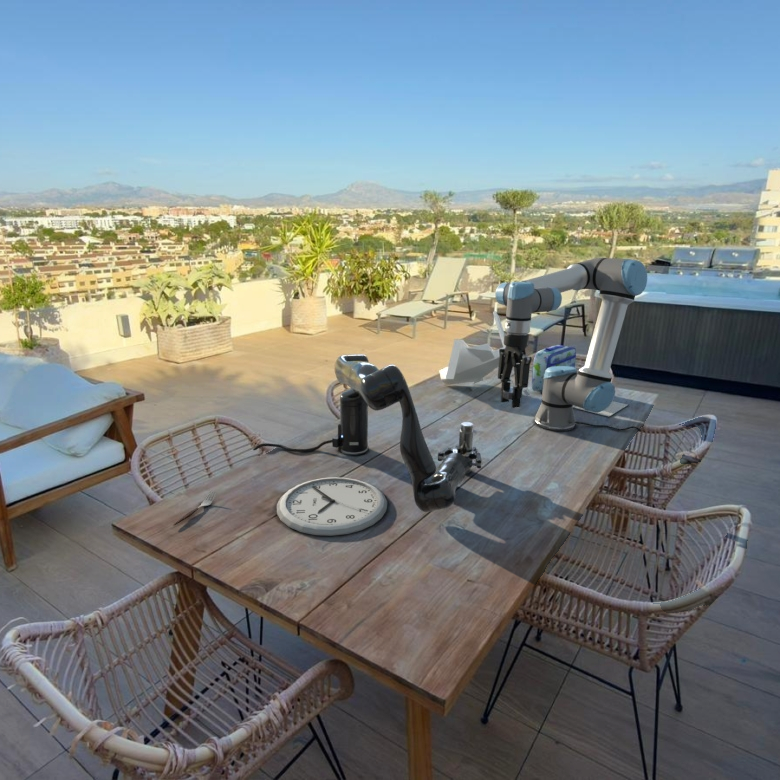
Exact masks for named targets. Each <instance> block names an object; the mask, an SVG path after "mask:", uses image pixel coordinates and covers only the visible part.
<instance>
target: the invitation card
mask: <svg viewBox="0 0 780 780" xmlns="http://www.w3.org/2000/svg"><path fill="white" fill-rule="evenodd" d="M628 406H629V404H627V403H623V402H618V401H614V400H612V402H611V404H610V405H609V406H608V407H607V408H606V409H605V410H603V411H601V412H592V411H587V410H585V409H583V408H580V407H577V406H574V407H573V409H575V410H581V411H584V412H587V413H593V414H596V415H600V416H604V417H608V418H609V417H611V416H613V415H614V414H616V413H617V412H619V411H621V410H623V409H624V408H626V407H628Z"/></svg>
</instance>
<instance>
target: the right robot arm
mask: <svg viewBox="0 0 780 780" xmlns="http://www.w3.org/2000/svg"><path fill="white" fill-rule="evenodd" d="M647 283H648V272H647V269H646V266H645V264H644V263H643V262H642V261H640V260H637V259H631V258H617V257H616V258H614V257H596V258H591V259H587V260H582V261H580V262H576V263H572V264H570V265H569V266H568V267H567V268H564V269H561V270H557V271H554V272H550V273H547V274H544V275H540V276H536V277H532V278H529V279H526V280H522V281H512V282H502V283H500V284H499V285H498V286H497V287H496V289H495V293H494V294H495V295H494V296H495V300H496V302H497V304H499V305H502V306H505V307H506V312H505V313H506V314H505V326H504V345H506V347H505V349H500V348H498V349H499V355H500V358H499V367H497V368H498V369H497V379H498V380H500V382H501V386H500V391H501V394H500V403H508V402H510V400H509V399H505V398H503V390H504V389H506V388H510V384H511V383H510V382H508V381H511V380H510V375H511V376H512V373H513V372H514V373H513V374H514V387H513V396H512V400H511V405H510V408H512V409H517V408H521V399H522V395H523V388H526V387H529V378H530V367H531V362H532V360H533V358H532V356H528V355H527V352H526V348H528V346H529V343H530V334H529V333H530V332H531V324H532V314H534V313H549V312H550V313H551V312H554V311H557V310H558V309H559V308H560V306H561V305H562V300H563V296H562V293H566V292H568V291H572V290H573V291H581V290H594V291H599V293H598V296H599V298H600V299H601V303H600V307H599V311H598V314H597V319H596V323H595V325H594V329H593V332H592V336H591V341H590V344H589V347H588V351H587V354H586V359H585V362H584V365H583V366H582V367H580V368H579V369H578V368H577V367H576V366H575V367H570V366H555V367H549V368H547V369H546V370H545V375H544V378H543V379H544V380H543V391H542V392H541V402H540V405H539V407H538V410H537V411H536V413H535V417H534V424H535V425H536V426H537V427H539V428H542V429H544V430H549V431H556V432H567V431H572V430H574V429H575V428H576V424H578V425H584V426H589V427H595V428H607V429H611V430H614V431H619V432H622V431H628V430H631V429H632V430H633V429H636V430H637V431H641V429H640V428H639V427H637V426H634V425H632V426H628V427H624V428H617V427H614V426H611V425H607V424H593V423H588V422H582V421H576V418H575V417H576V416H575V413H574V407H576V406H577V407H580V408H583V409H585V410H587V411H586V412H588V411H592V412H601V411H603V410H605V409H606V408H607V407H608V406H609V405H610V404H611V402H612V401H614V398H615V395H616V387H615V385H614V384H613V383H612V380H613V376H612V374H611V373H610V370H611V366H612V362H613V358H614V355H615V352H616V348H617V345H618V341H619V338H620V335H621V331H622V327H623V324H624V320H625V317H626V313H627V310H628V306H629V305H630V304H632V303H634V302H635V298H636V297H637V296H640V295H642V294H643V292H644V291H645V290H646V288H647ZM517 363H520V364H517ZM512 371H513V372H512ZM573 406H574V407H573ZM592 412H591V413H592Z"/></svg>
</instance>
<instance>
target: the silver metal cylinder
mask: <svg viewBox="0 0 780 780" xmlns="http://www.w3.org/2000/svg"><path fill="white" fill-rule="evenodd" d="M473 428H474V424H473V423H472V422H469V421H464V422H461V423H460V429H459V435H458V445H459V450H458V453H459V454H465V453H467V452H471V450H472V449H473V442H474V441H473V440H474V430H473ZM471 469H472V467H471V468H469V469H468V471H467V473H466V475H469V474H471Z"/></svg>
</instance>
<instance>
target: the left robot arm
mask: <svg viewBox="0 0 780 780" xmlns="http://www.w3.org/2000/svg"><path fill="white" fill-rule="evenodd" d="M333 369H334V375H335V378H336V380H337V381H338V382H339V384H342V385H346V386H347V387H349V388H348V389H347V390H344V391H342V392H341V393H340V395H339V423H338V424H337V434H336V435H335V436H333V437H332V439H327V440H325V441H322V442H320V443H319V444H318V445H316V446H314V447H310V448H291V447H289V446H285V445H283V444H279V443H269V442H268V443H267V442H266V443H260V444H258V445H256V446H255V447H254V448H253V449H252V451H257V450H258V449H260V448H262V447H263V448H264V447H272V448H280V449H283V450H285V451H289V452H295V453H308V452H313V451H316V450H319V449H320V448H321V447H323V446H324V445H327V444H331V445H332V446H331V447H332V448H336V449H337V451H338V452H341V453H342V454H344V455H347V456H360V455H365V454H366V453H367V452H368V451H369V441H368V439H369V438H368V437H369V416H368V415H369V408H370V409H372V410H374V411H375V412H376V411H377V412H378V411H382V410H384V409H386V408H389V407H391V406H393V405H395V404H396V403H399V405H400V408H401V417H402V420H401V431H400V439H399V451H400V455H401V458H402V460H403V463H404V465H405V467H406V469H407V472H408V473H409V476H410V477H409V478H410V480H411V485H412V486H411V487H412V492H413V500H414V503H415V505H416V507H417V508H418V509H419V510H420V511H422V512H423V513H430V512H434V511H439V510H440V511H441V510H445V509H449V508H450V507H452V506H453V505H454V504H455V502H456V493H457V492H456V490H457V488H458V486H459V485H460V483H462V481H463V480H464V479H465V477H466V475H467V474H466V473H467V471H468V469H469V468H471V469H472V467H473V466H474V467H476V469H478V470H479V469H482V461H483V460H482V456H481V453H480V452H478V448H477V447H476V446H472V450H471V452H467V453H465V454H459V453H458V450H459V444H458V445H455V447H453V448H451V447H446V448H444V449H442V450H441V451H438V452H437V461H438V462H441V463H440V464H439V466H438V467H437V465H436V462H435V460H434V458H433V456H432V453H431V451H430V449H429V447H428V444H427V442H426V440H425V437H424V434H423V431H422V428H421V425H420V420H419V417H418V414H417V410H416V406H415V404H414V401H413V398H412V394H411V391H410V387H409V385H408V382H407V380H406V378H405V376H404V374H403V372H402V371H401V369H400V368H399V367H398V366H397V365H394V364H389V365H387V366H384V367H381V368H380V369H379V367H377V366H376V365H374V364H373V363H371V362H369V358H368V356H367V355H366V354H343V355H340V356H338V357H337V358H336V359H335V362H334V368H333ZM429 478H431V479H430V483H427V482H426V481H425V480H428V479H429Z"/></svg>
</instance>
